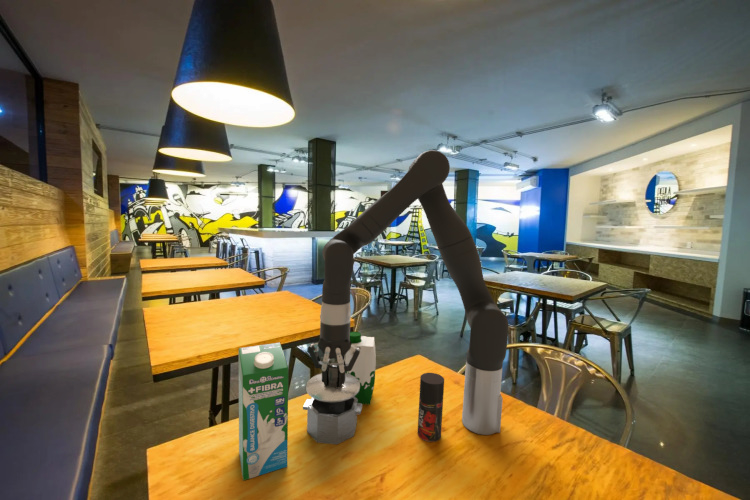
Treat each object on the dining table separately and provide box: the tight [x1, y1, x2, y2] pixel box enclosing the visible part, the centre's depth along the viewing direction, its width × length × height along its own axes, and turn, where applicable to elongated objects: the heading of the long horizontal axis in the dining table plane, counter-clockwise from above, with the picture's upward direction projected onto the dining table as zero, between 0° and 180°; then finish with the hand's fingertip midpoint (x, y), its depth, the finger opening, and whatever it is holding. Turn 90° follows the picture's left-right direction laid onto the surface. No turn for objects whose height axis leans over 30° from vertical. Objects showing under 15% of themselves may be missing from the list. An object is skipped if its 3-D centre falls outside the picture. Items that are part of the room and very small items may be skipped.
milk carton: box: [238, 342, 289, 481], centre depth 71 cm, size 9×9×25 cm
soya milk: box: [345, 331, 377, 405], centre depth 98 cm, size 9×9×20 cm
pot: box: [302, 396, 363, 445], centre depth 84 cm, size 15×12×7 cm
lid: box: [305, 362, 360, 402], centre depth 83 cm, size 14×14×6 cm
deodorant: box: [417, 372, 445, 443], centre depth 82 cm, size 6×6×15 cm
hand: (333, 383), depth 83 cm, fingers closed on lid, 3 cm apart
